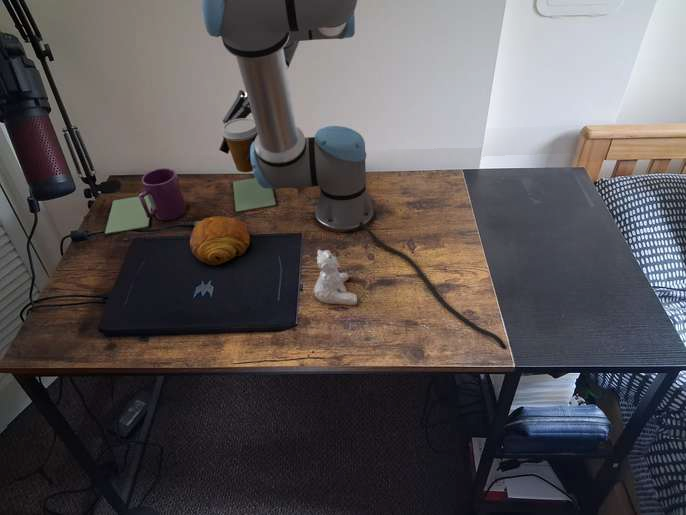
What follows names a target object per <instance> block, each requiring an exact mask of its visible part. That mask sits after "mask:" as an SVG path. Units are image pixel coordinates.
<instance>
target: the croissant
mask: <svg viewBox="0 0 686 515" xmlns="http://www.w3.org/2000/svg"><path fill="white" fill-rule="evenodd" d="M250 233H251V232H250V230H249V226H248V225H247V224H246V223H245V222H243V221H241V220H239V219H236V218H234V217H229V216H223V215H216V216H211V217H206V218H204V219H203V220H200V221H198V222H197V223H195V226H194V227H193V228H192V231H191V235H190V239H189V247H190V249H191V253H192V254H193V256H195V257H196V258H197V260H199V261H200V262H201V263H204V264H207V265H210V266H218V265H221V264H224V263H226V262H228V261H231V260H232V259H234V258H235V257H239V256H242V255H243V254H245V252H246V251H247V250H248V248H249V246H250V243H251V234H250Z"/></svg>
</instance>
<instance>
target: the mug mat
mask: <svg viewBox="0 0 686 515" xmlns="http://www.w3.org/2000/svg"><path fill="white" fill-rule="evenodd" d="M144 199H145V201H146V204H147V207H148V209H149V212H151V211H152V207H151V204H150V202H149V199H148V197H147V196H145V197H144ZM111 204H112V205H111V208H110V212H109V216H108V219H107V222H106V227H105V230H104V235H111V234H118V233H123V232H129V231H134V230H140V229H146V228H150V220H151V217H150V218H148V217H147V216H146V214H145V211H144V209H143V206H142V204H141V201H140V199H139V196H132V197H127V198H120V199H115V200H113V201H112V203H111Z"/></svg>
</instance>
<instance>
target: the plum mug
mask: <svg viewBox="0 0 686 515" xmlns="http://www.w3.org/2000/svg"><path fill="white" fill-rule="evenodd" d="M141 183H142V186H143V188H144V191H143V192H140V194H138V197H139V199H140V201H141V204H142V206H143V209H144V211H145V214H146V216H147V217H148V218H150V219H151V217H153V216H155V218H156V219H158V220H161V221H172V220H175V219H179V218H180V217H182V216H183V215H184V214H186V212H187V210H188V206H187V203H186V202H187V201H186V200H185V196H184V193H183V190H182V186H181V184H180V181H179V178H178V175H177V172H176V170H175V169H172V168H169V167H168V168H167V167H161V168H156V169H153V170H150V171H148V172H147V173H145V174H144V175H143V176H142V177H141ZM145 196H147V197H148V199H149V202H150V204H151V207H152V208H151V212H149V209H148V207H147V204H146V201H145V199H144V197H145Z"/></svg>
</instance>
